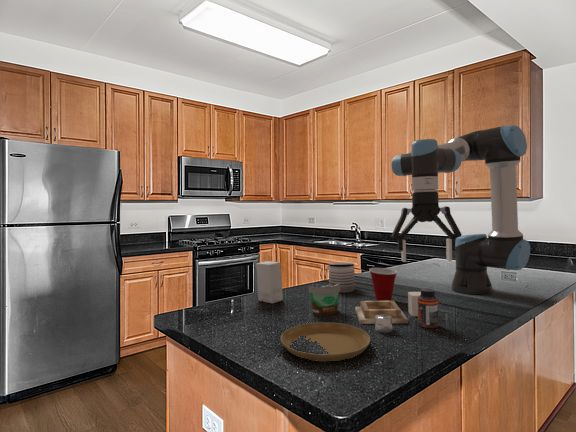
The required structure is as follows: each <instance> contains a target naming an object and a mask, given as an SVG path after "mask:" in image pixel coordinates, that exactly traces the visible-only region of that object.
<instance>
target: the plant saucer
mask: <svg viewBox="0 0 576 432" xmlns="http://www.w3.org/2000/svg"><path fill="white" fill-rule="evenodd" d="M302 335H303V336H306V338H304V339H306V340H308V339H309V338H311V339H310V340H311V341H312V342H315V341H317V343H320V344H318V345H321V347H323V349H324V348H325V349H326V350H324V351H327V352H328V353H329V354H312V353H306V352H301V351H297V350H294V349H292V348H290V347H289V345H292V344H293V343H292V344H290V343H291V342H294V341H295V340H297V338H298V337H299V336H302ZM292 340H293V341H292ZM310 340H309V341H310ZM280 341H281V342H280V343H281V344H282V345H283V347H284V349H286V350H287V351H288V352H289V353H291V354H292V355H293V354H294V355H293V356H295V355H296V356H295V357H297V356H298V357H297V358H299V357H301V358H300V359H302V358H305V359H310V360H317V361H339V360H344V361H346V360H345V359H348V360H350V358H351V359H353V357H354V358H355V356H356V357H358V356H359V355H361V354H362V353H363V352H364V351H365V350H366V349H367V348H368V346H369V344H370V342H371V337H370V334H368V332H367V331H365V330H363V329H362V328H359V327H356V326H354V325H350V324H345V323H340V322H309V323H303V324H298V325H295V326H292V327H290V328H288V329H287V330H284V332H282V333H281V335H280ZM295 343H296V342H295ZM293 345H294V344H293ZM357 355H358V356H357ZM305 359H304V360H305ZM339 362H340V361H339Z"/></svg>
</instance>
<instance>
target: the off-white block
mask: <svg viewBox="0 0 576 432" xmlns="http://www.w3.org/2000/svg"><path fill="white" fill-rule="evenodd" d="M420 295H421V291H408V292H407V303H408V304H407V307H408V308H407V309H408V313H409V315H410V316H411V317H418V296H420Z"/></svg>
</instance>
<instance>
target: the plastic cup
mask: <svg viewBox="0 0 576 432" xmlns="http://www.w3.org/2000/svg"><path fill="white" fill-rule="evenodd" d="M369 272H370V276H371V281H372V287H373V292H374V297H375V301H392V299H393V292H394V287H395V280H396V277H397V274H398V273H399V272H398V270H395V269H393V268H385V267H371V268H369Z"/></svg>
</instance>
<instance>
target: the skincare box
mask: <svg viewBox="0 0 576 432" xmlns="http://www.w3.org/2000/svg"><path fill="white" fill-rule="evenodd" d="M255 268H256V282H257V295H258V301H259V302H262V301H263V302H264V303H267V304H268V303H269V304H274V303H275V304H276V303H278V302H281V301H283V300H284V297H283V281H282V269H281V262H280V261H269V260H267V261H266V260H265V261H262V262H257V263H255Z"/></svg>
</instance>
